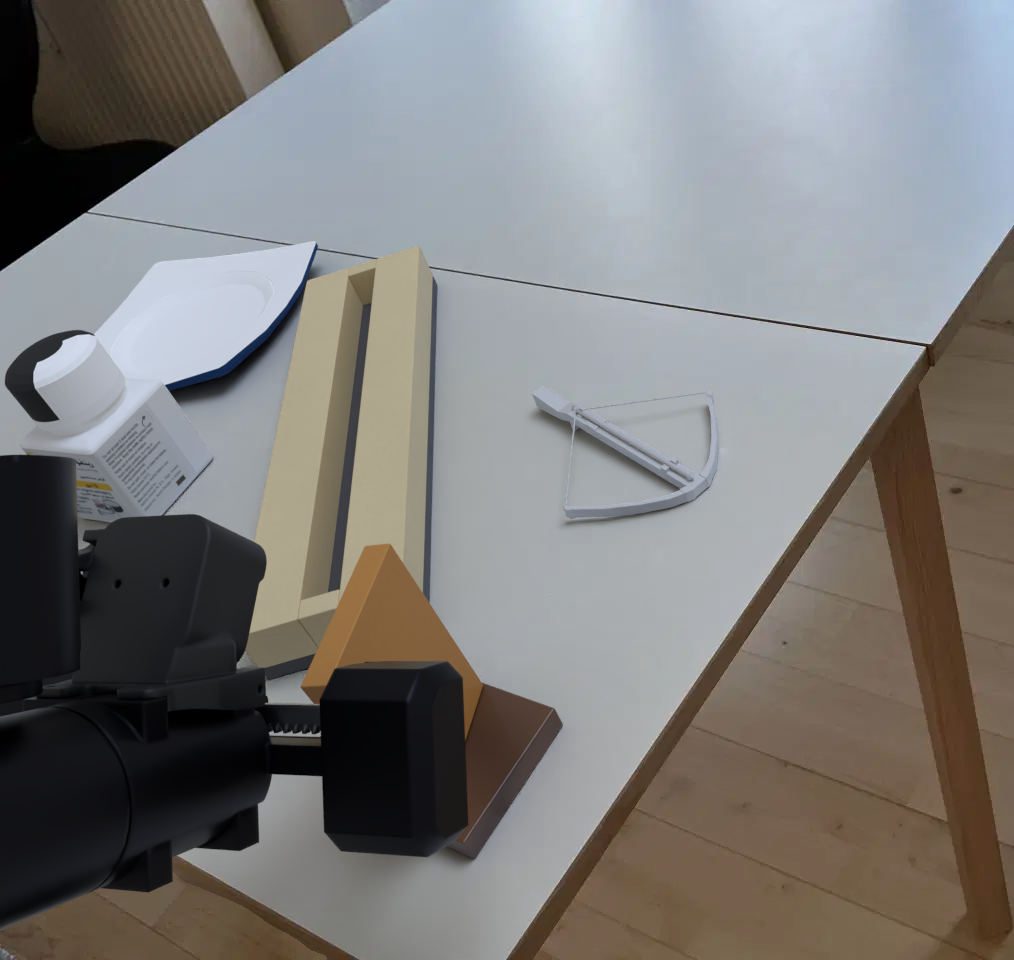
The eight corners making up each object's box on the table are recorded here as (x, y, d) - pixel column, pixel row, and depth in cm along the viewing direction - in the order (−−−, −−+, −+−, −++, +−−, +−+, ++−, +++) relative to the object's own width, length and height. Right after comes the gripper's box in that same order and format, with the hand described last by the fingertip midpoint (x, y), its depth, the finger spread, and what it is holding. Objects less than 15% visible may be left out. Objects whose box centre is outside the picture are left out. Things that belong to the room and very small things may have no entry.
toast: (439, 823, 52) (327, 685, 45) (413, 824, 53) (299, 687, 46) (483, 684, 58) (390, 542, 51) (460, 686, 58) (364, 545, 51)
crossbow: (774, 441, 69) (769, 417, 68) (629, 566, 65) (621, 543, 63) (609, 354, 79) (602, 331, 78) (473, 457, 75) (463, 435, 73)
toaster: (429, 634, 64) (401, 589, 61) (255, 683, 65) (220, 641, 62) (437, 284, 94) (419, 245, 92) (319, 321, 95) (297, 283, 92)
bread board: (474, 860, 52) (463, 843, 51) (356, 804, 56) (343, 788, 55) (564, 724, 57) (554, 707, 56) (448, 682, 61) (438, 666, 60)
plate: (242, 400, 89) (225, 374, 87) (48, 415, 96) (29, 391, 94) (343, 258, 103) (330, 233, 101) (168, 280, 110) (153, 257, 108)
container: (79, 520, 82) (-35, 385, 74) (146, 449, 87) (46, 316, 79) (151, 530, 79) (40, 390, 71) (217, 456, 84) (120, 317, 75)
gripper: (311, 521, 30) (543, 513, 45) (-169, 543, 36) (174, 529, 51) (325, 931, 30) (555, 788, 45) (-162, 884, 36) (182, 771, 51)
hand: (354, 708), depth 48 cm, fingers open, 9 cm apart
